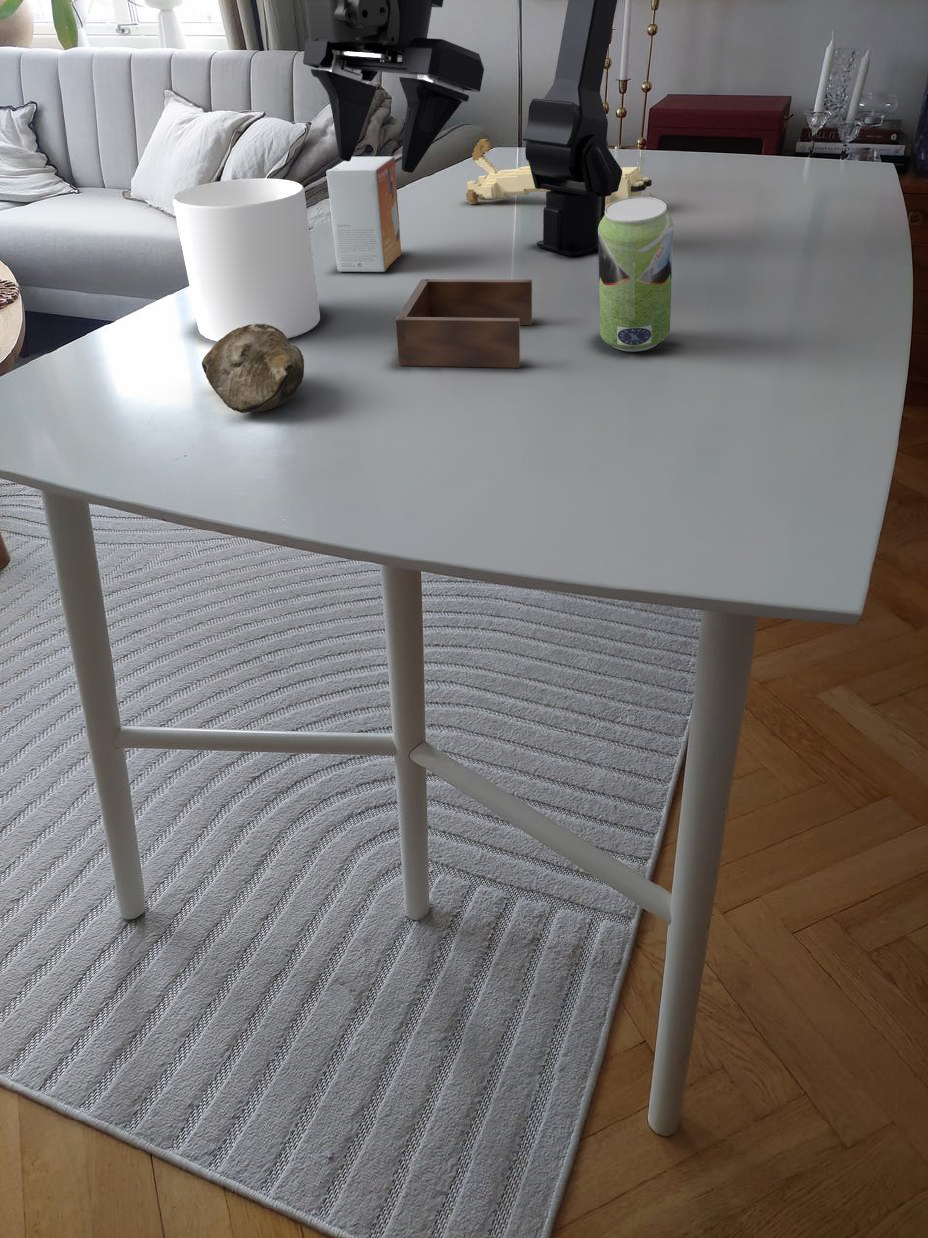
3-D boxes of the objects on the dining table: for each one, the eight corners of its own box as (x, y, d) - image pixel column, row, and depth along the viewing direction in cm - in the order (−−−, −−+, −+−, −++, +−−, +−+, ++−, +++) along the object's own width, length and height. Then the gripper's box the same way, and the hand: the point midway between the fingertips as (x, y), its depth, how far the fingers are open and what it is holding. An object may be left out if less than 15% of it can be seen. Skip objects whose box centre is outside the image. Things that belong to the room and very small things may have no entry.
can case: (532, 322, 91) (532, 279, 88) (519, 367, 81) (518, 320, 79) (423, 321, 92) (421, 278, 90) (399, 365, 83) (395, 319, 81)
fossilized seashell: (314, 388, 73) (319, 362, 82) (257, 313, 70) (269, 296, 79) (237, 445, 74) (250, 414, 83) (178, 374, 72) (198, 350, 81)
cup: (217, 353, 87) (190, 213, 80) (185, 318, 96) (158, 189, 89) (338, 329, 91) (322, 194, 84) (297, 297, 100) (280, 172, 93)
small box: (384, 273, 106) (376, 169, 100) (336, 272, 107) (324, 169, 101) (403, 253, 112) (396, 155, 106) (357, 252, 113) (347, 155, 107)
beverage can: (673, 334, 86) (686, 191, 79) (659, 363, 81) (671, 212, 74) (604, 329, 88) (611, 189, 81) (586, 357, 83) (591, 209, 76)
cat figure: (461, 217, 130) (640, 214, 120) (453, 146, 125) (639, 136, 115) (492, 201, 137) (663, 196, 127) (486, 133, 132) (663, 122, 122)
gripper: (264, -61, 83) (244, 137, 89) (404, -68, 72) (370, 160, 77) (364, -19, 91) (340, 161, 97) (505, -19, 79) (467, 184, 85)
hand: (374, 165), depth 89 cm, fingers open, 9 cm apart
